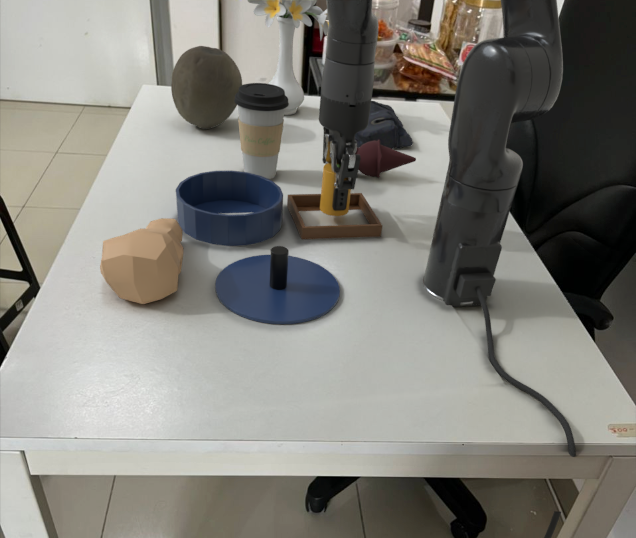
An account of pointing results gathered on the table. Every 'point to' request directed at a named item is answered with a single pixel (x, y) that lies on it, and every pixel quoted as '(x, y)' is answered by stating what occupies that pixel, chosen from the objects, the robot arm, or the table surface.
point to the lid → (277, 288)
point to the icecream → (380, 158)
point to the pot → (229, 207)
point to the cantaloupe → (205, 86)
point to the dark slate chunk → (384, 128)
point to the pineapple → (330, 193)
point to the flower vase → (289, 40)
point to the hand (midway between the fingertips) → (335, 201)
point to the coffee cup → (260, 126)
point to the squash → (144, 261)
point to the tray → (336, 231)
